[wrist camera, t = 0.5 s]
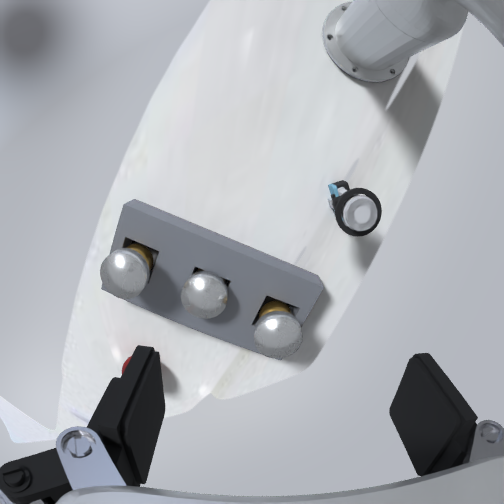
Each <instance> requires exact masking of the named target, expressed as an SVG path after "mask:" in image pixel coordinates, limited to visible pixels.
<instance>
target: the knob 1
mask: <svg viewBox="0 0 504 504" xmlns="http://www.w3.org/2000/svg"><path fill="white" fill-rule="evenodd" d="M152 266H153V255H152V253H151V252H150V250H149V249H148V248H147V247H146V246H144V245H142V244H131V245H129V246H128V247H127V248H120V249H117V250H115V251H114V252H113V253H111V254H110V255H109V256H108V257H107V258H106V259H105V260H104V261H103V263H102V265H101V269H100V275H101V280H102V282H103V284H104V286H105V288H106V289H107V290H108V291H109V292H110V293H111V294H113V295H114V296H116V297H118V298H122V299H131V298H134V297H136V296H138V295H139V294H140V293H141V291H142V290H143V289H144V287H145V286H146V284H147V283H148V280H149V276H150V270H151V268H152Z"/></svg>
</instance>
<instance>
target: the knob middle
mask: <svg viewBox="0 0 504 504" xmlns="http://www.w3.org/2000/svg"><path fill="white" fill-rule="evenodd" d="M227 298H228V288H227V285H226V283H225V278H222V277H220V276H219V275H217V274H216V273H213V272H210V271H205V270H203V269H200V268H199V269H198V270H197V271H196V273H194V274H192V275H191V276H189V278H188V279H187V280H186V282H185V284H184V286H183V288H182V291H181V301H182V304H183V306H184V308H185V309H186V310H187V311H188V312H189V313H190V314H192V315H193V316H195V317H198V318H204V319H208V318H213V317H216V316H218V315H219V314H220V313H221V312H222V311H223V310H224V309H225V307H226V303H227Z"/></svg>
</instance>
